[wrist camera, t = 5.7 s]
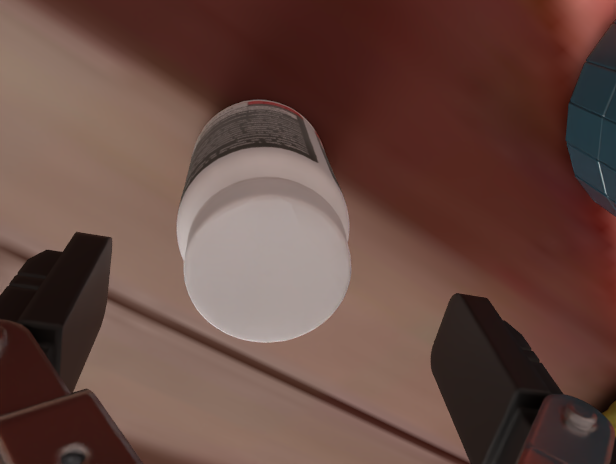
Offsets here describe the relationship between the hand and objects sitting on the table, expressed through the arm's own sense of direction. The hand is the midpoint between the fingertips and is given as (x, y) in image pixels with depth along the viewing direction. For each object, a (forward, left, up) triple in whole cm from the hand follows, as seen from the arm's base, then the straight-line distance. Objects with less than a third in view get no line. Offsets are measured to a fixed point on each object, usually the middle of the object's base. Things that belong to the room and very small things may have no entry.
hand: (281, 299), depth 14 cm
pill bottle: (0, 0, -9) cm, 9 cm away
